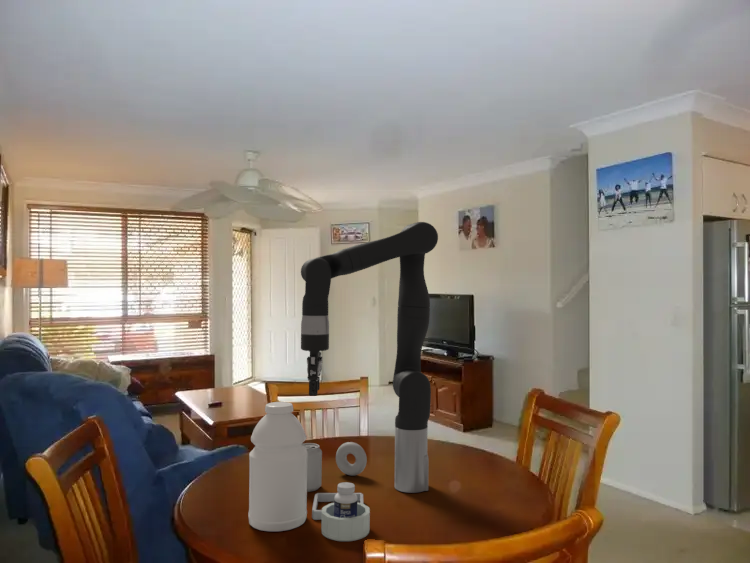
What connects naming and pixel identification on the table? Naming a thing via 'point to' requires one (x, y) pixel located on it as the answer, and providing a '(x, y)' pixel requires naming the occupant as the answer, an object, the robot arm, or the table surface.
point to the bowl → (345, 524)
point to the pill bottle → (345, 501)
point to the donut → (359, 455)
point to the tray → (327, 498)
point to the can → (313, 466)
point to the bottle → (278, 471)
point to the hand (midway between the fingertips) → (314, 392)
